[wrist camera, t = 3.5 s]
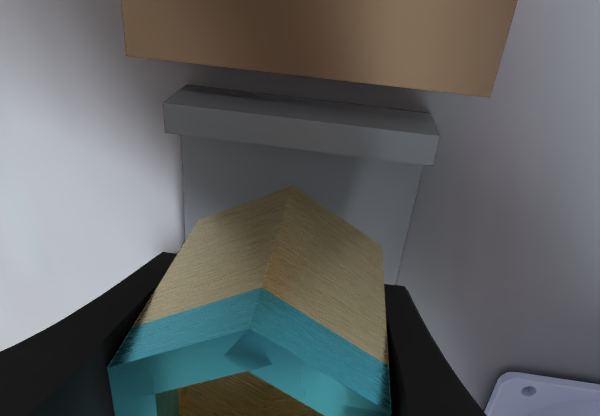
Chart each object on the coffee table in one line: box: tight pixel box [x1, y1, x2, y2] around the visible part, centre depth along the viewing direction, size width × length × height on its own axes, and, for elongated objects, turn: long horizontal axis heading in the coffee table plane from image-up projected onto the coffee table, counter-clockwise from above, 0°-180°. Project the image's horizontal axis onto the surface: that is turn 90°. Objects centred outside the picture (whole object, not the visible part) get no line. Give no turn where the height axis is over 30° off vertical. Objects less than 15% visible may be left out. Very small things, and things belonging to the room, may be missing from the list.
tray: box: [163, 85, 440, 285], centre depth 15 cm, size 7×8×2 cm
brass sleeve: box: [107, 185, 391, 416], centre depth 11 cm, size 5×6×5 cm
